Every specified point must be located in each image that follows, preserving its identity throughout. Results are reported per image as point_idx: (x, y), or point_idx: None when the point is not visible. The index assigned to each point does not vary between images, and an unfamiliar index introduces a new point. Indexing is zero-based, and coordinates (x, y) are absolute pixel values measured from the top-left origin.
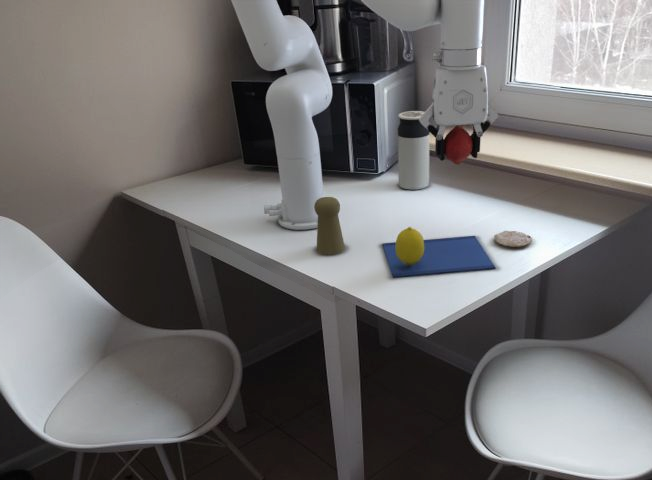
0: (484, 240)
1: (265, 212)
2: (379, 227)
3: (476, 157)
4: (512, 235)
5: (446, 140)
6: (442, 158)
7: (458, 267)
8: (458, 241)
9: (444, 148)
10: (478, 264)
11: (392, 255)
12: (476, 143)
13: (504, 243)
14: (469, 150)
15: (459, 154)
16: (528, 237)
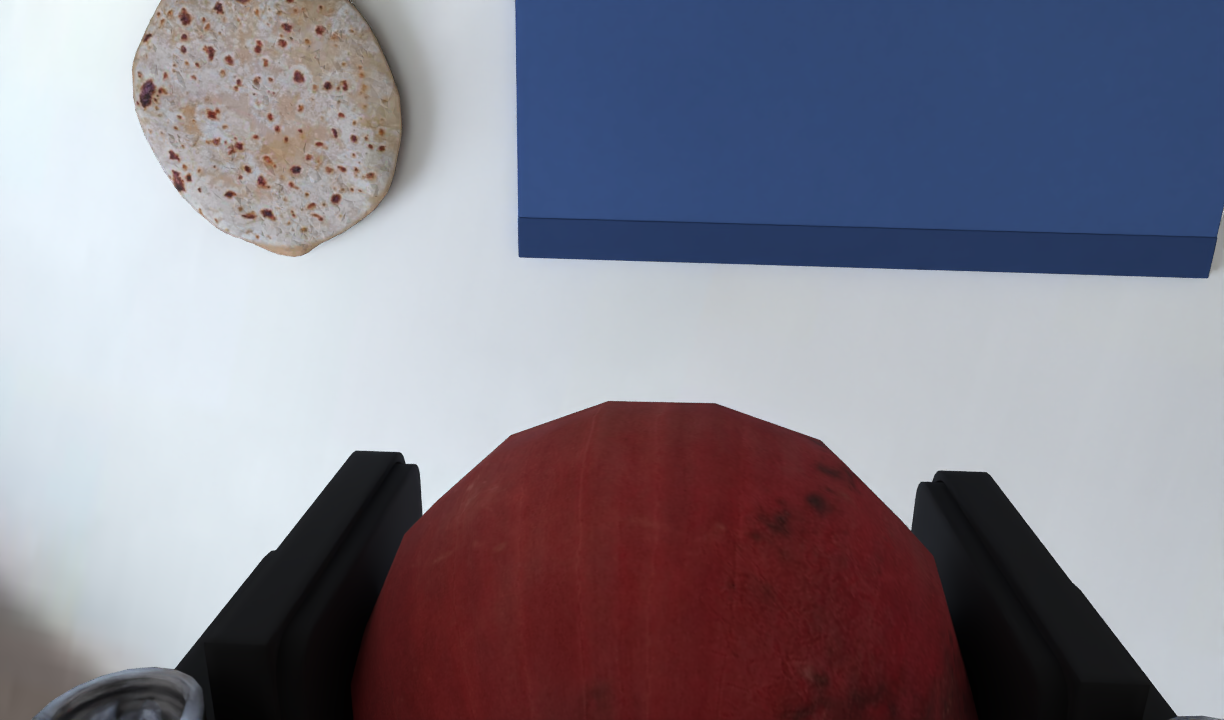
0: (467, 184)
1: None
2: (1115, 574)
3: (369, 453)
4: (261, 149)
5: None
6: (971, 477)
7: None
8: (658, 185)
9: (991, 576)
10: None
11: (1213, 41)
12: (292, 569)
13: (348, 19)
14: (479, 464)
15: (693, 406)
16: (154, 85)
